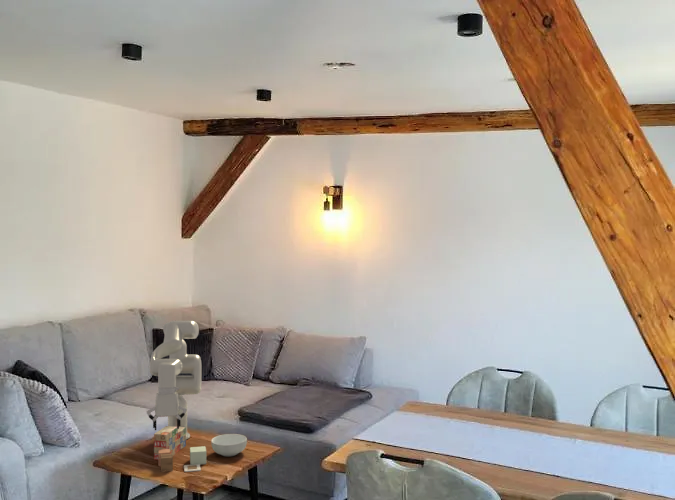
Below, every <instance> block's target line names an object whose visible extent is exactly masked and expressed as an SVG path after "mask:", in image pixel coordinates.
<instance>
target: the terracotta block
mask: <svg viewBox="0 0 675 500" xmlns="http://www.w3.org/2000/svg"><path fill="white" fill-rule="evenodd" d="M161 454H170V449H160V450H159V456H158V464H157V465H158V467H161Z"/></svg>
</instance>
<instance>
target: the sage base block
mask: <svg viewBox="0 0 675 500" xmlns="http://www.w3.org/2000/svg"><path fill="white" fill-rule="evenodd" d="M189 463H190V464H189V465H195V464H200V465H207V447H206V446H205V445H204V446H203V445H201V446H192V447H189Z"/></svg>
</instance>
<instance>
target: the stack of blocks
mask: <svg viewBox="0 0 675 500" xmlns="http://www.w3.org/2000/svg"><path fill="white" fill-rule="evenodd" d="M186 446H187V439H186V427H179V429H177V427H173V426H168V425H165V426H164V427H162V428H161V429H160V430H158V431H156V432H155V433H153V460H156V461H157V460H158V456H159V450H160V449H170V454H172V455H173V456H174V455H175V454H177V453H178V452H179V451H181V450H182V449H184V448H185V447H186Z"/></svg>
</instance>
